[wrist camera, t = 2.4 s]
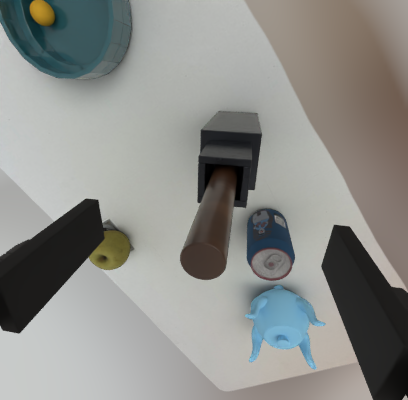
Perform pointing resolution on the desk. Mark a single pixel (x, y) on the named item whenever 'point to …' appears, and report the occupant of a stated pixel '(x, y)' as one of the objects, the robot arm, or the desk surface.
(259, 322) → the teapot
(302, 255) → the desk surface
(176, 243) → the desk surface
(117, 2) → the bowl
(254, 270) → the soda can
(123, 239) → the apple
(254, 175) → the holder
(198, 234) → the stick
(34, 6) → the ball
